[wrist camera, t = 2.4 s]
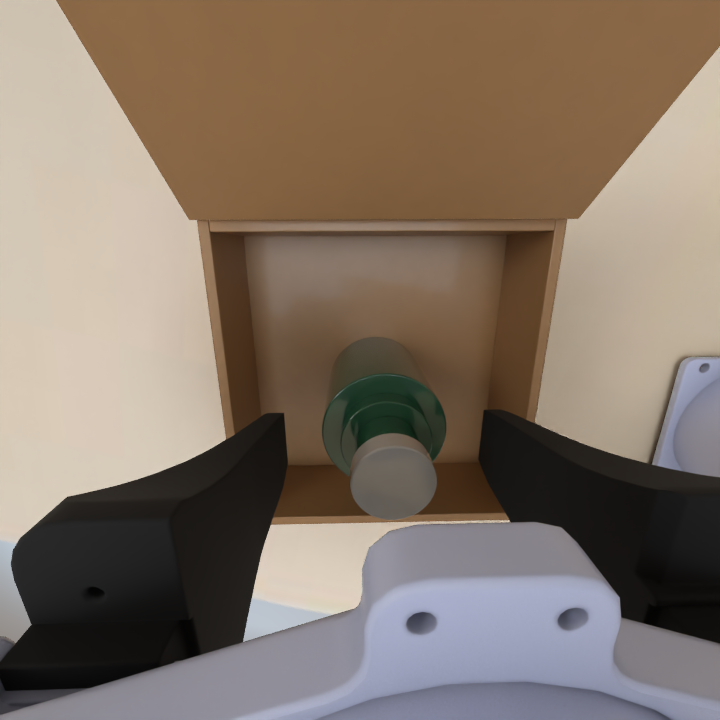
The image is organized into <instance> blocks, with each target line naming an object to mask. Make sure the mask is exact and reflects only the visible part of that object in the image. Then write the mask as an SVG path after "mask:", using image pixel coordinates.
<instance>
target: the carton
mask: <svg viewBox="0 0 720 720" xmlns="http://www.w3.org/2000/svg"><path fill="white" fill-rule="evenodd" d="M566 223H567V219H328V220H197V224H198V231H199V239H200V246H201V254H202V261H203V269H204V276H205V284H206V291H207V299H208V306H209V314H210V321H211V329H212V336H213V344H214V351H215V359H216V366H217V374H218V381H219V389H220V396H221V404H222V411H223V419H224V426H225V434H226V439H228V438H230V437H231V436H233V435H235V434H236V433H238V432H239V431H240V430H242V429H243V428H245V427H246V426H248V425H249V424H251V423H252V422H254V421H255V420H256V419H258V418H259V417H261V416H262V415H264V414H266V413H284V418H285V431H286V444H287V457H288V465H287V471H286V476H285V481H284V486H283V489H282V492H281V496H280V499H279V502H278V505H277V507H276V510H275V513H274V516H273V519H272V522H271V525H274V524H322V523H371V522H419V521H467V520H509V518H508V517H507V515H506V513H505V512H504V510H503V508H502V507H501V505H500V503H499V501H498V500H497V498H496V496H495V495H494V493H493V491H492V489H491V488H490V486H489V484H488V482H487V480H486V477H485V475H484V473H483V470H482V468H481V465H480V462H479V460H478V457H479V448H480V439H481V430H482V421H483V412H484V410H492V409H501V410H504V411H507V412H510V413H512V414H515V415H517V416H519V417H522V418H524V419H526V420H528V421H530V422H533V423H535V417H536V411H537V405H538V399H539V392H540V386H541V380H542V374H543V367H544V361H545V355H546V349H547V342H548V336H549V330H550V324H551V317H552V311H553V305H554V299H555V292H556V286H557V280H558V273H559V267H560V261H561V255H562V248H563V242H564V236H565V230H566ZM368 337H384V338H388V339H392V340H394V341H396V342H398V343H400V344H401V345H403V346H404V347H405V348H407V349H408V350H409V351H410V353H411V354H412V355H413V357H414V358H415V360H416V362H417V363H418V365H419V367H420V369H421V370H422V372H423V374H424V375H425V377H426V379H427V381H428V382H429V384H430V386H431V387H432V389H433V391H434V393H435V394H436V396H437V398H438V400H439V401H440V403H441V405H442V407H443V410H444V413H445V416H446V423H447V431H446V438H445V441H444V445H443V447H442V449H441V451H440V453H439V455H438V457H437V458H436V459H435V461H434V462H433V465H434V468H435V471H436V475H437V486H436V490H435V493H434V496H433V498H432V499H431V501H430V502H429V503H428V505H427V506H426V507H425V508H424V509H422V510H421V511H420V512H418V513H416V514H415V515H412V516H410V517H407V518H404V519H398V520H386V519H380V518H377V517H374V516H372V515H370V514H368V513H366V512H365V511H364V510H362V509H361V508H360V507H359V505H358V504H357V503H356V501H355V500H354V498H353V496H352V493H351V489H350V477H349V476H348V475H346V474H345V473H343V472H342V471H341V470H340V469H339V468H338V467H337V466H336V465H335V464H334V463H333V462H332V460H331V459H330V457H329V456H328V454H327V452H326V449H325V447H324V443H323V439H322V422H323V417H324V411H325V405H326V399H327V393H328V387H329V381H330V375H331V370H332V367H333V364H334V362H335V360H336V358H337V357H338V355H339V354H340V353H341V352H342V351H343V350H344V349H345V348H346V347H347V346H349V345H350V344H352V343H353V342H355V341H357V340H360V339H363V338H368Z"/></svg>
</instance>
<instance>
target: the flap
mask: <svg viewBox="0 0 720 720" xmlns="http://www.w3.org/2000/svg"><path fill="white" fill-rule="evenodd" d="M56 1H57V2H58V4H59V6H60V7H61V9H62V11H63V12H64V14H65V16H66V17H67V19H68V21H69V22H70V24H71V25H72V27H73V29H74V30H75V32H76V34H77V35H78V37H79V39H80V40H81V42H82V44H83V45H84V47H85V49H86V50H87V52H88V54H89V55H90V57H91V58H92V60H93V62H94V63H95V65H96V67H97V68H98V70H99V72H100V73H101V75H102V77H103V78H104V80H105V82H106V83H107V85H108V87H109V88H110V90H111V91H112V93H113V95H114V96H115V98H116V100H117V101H118V103H119V105H120V106H121V108H122V110H123V111H124V113H125V115H126V116H127V118H128V120H129V121H130V123H131V124H132V126H133V128H134V129H135V131H136V133H137V134H138V136H139V138H140V139H141V141H142V143H143V144H144V146H145V148H146V149H147V151H148V153H149V154H150V156H151V157H152V159H153V161H154V162H155V164H156V166H157V167H158V169H159V171H160V172H161V174H162V176H163V177H164V179H165V181H166V182H167V184H168V186H169V187H170V189H171V190H172V192H173V194H174V195H175V197H176V199H177V200H178V202H179V204H180V205H181V207H182V209H183V210H184V212H185V214H186V215H187V217H188V219H189V220H307V219H578V218H579V217H580V216H581V215H582V214H583V212H584V211H585V210H586V209H587V208H588V206H589V205H590V204H591V203H592V201H593V200H594V199H595V198H596V197H597V195H598V194H599V193H600V192H601V190H602V189H603V188H604V187H605V186H606V184H607V183H608V182H609V181H610V179H611V178H612V177H613V176H614V175H615V173H616V172H617V171H618V170H619V168H620V167H621V166H622V165H623V164H624V162H625V161H626V160H627V159H628V157H629V156H630V155H631V154H632V153H633V151H634V150H635V149H636V148H637V146H638V145H639V144H640V143H641V142H642V140H643V139H644V138H645V137H646V135H647V134H648V133H649V132H650V131H651V129H652V128H653V127H654V126H655V124H656V123H657V122H658V121H659V120H660V118H661V117H662V116H663V115H664V113H665V112H666V111H667V110H668V109H669V107H670V106H671V105H672V104H673V102H674V101H675V100H676V99H677V98H678V96H679V95H680V94H681V93H682V91H683V90H684V89H685V88H686V87H687V85H688V84H689V83H690V82H691V81H692V79H693V78H694V77H695V76H696V74H697V73H698V72H699V71H700V70H701V68H702V67H703V66H704V65H705V63H706V62H707V61H708V60H709V59H710V57H711V56H712V55H713V54H714V52H715V51H716V50H717V49H718V48H719V46H720V0H56Z"/></svg>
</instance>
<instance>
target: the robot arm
mask: <svg viewBox="0 0 720 720" xmlns="http://www.w3.org/2000/svg"><path fill="white" fill-rule="evenodd" d="M701 365H702V367H701V368H700V366H701ZM699 368H700V369H699ZM478 460H479V462H480V465H481V468H482V470H483V473H484V475H485V477H486V480H487V482H488V484H489V486H490V488H491V489H492V491H493V493H494V495H495V496H496V498H497V500H498V501H499V503H500V505H501V507H502V508H503V510H504V512H505V513H506V515H507V517H508V518H509V520H510V523H466V524H423V525H413V526H409V527H405V528H401V529H397V530H392V531H389V532H388V533H387V534H385V535H384V536H383V537H382V538H380V539H379V540H378V541H377V542H376V543H374V544H373V545H372V546H371V547H369V550H368V553H367V556H366V559H365V562H364V565H363V568H362V596H361V602H360V603H359V605H358V606H357V607H356V608H355V609H351V610H348V611H345V612H341V613H338V614H335V615H331V616H328V617H325V618H322V619H318V620H315V621H312V622H308V623H305V624H301V625H298V626H295V627H291V628H288V629H285V630H282V631H279V632H275V633H272V634H268V635H265V636H262V637H258V638H255V639H252V640H248V641H245V642H243V638H244V633H245V628H246V622H247V617H248V613H249V608H250V602H251V598H252V593H253V589H254V584H255V579H256V575H257V570H258V566H259V562H260V557H261V553H262V550H263V546H264V543H265V540H266V537H267V534H268V531H269V528H270V525H271V522H272V519H273V516H274V513H275V510H276V507H277V505H278V502H279V499H280V496H281V492H282V489H283V486H284V481H285V476H286V471H287V465H288V457H287V444H286V431H285V418H284V413H266V414H264V415H262V416H261V417H259V418H258V419H256V420H255V421H254V422H252V423H251V424H249V425H248V426H246V427H245V428H243V429H242V430H240V431H239V432H238V433H236V434H235V435H233V436H231V437H230V438H228V439H226V440H225V441H223V442H222V443H220V444H218V445H217V446H215V447H213V448H212V449H210V450H208V451H206V452H204V453H202V454H200V455H198V456H196V457H194V458H192V459H190V460H188V461H186V462H183V463H181V464H178V465H176V466H173V467H171V468H168V469H166V470H163V471H161V472H158V473H156V474H153V475H150V476H147V477H144V478H141V479H138V480H134V481H131V482H128V483H124V484H121V485H117V486H113V487H110V488H105V489H101V490H97V491H92V492H88V493H84V494H79V495H75V496H70V497H67V498H65V499H64V500H63V501H62V502H61V503H60V504H59V505H57V506H56V507H55V508H54V509H53V510H52V511H51V512H49V513H48V514H47V515H46V516H45V517H44V518H43V519H42V520H40V521H39V522H38V523H37V524H36V525H35V526H34V527H32V528H31V529H30V530H29V531H28V532H27V533H26V534H25V535H23V536H22V537H21V538H20V539H19V541H18V543H17V544H16V546H15V548H14V549H13V554H12V561H11V567H12V571H13V576H14V581H15V583H16V586H17V588H18V591H19V594H20V596H21V598H22V601H23V604H24V606H25V609H26V611H27V614H28V616H29V619H30V622H31V624H32V625H31V626H30V627H29V628H28V630H27V631H26V632H25V633H24V634H23V636H22V637H21V638H20V639H19V640H18V642H17V643H15V642H14V641H12V640H11V639H9V638H7V637H2V636H0V720H720V357H689V358H686V359H684V360H683V361H682V362H681V364H680V366H679V370H678V373H677V377H676V380H675V384H674V388H673V391H672V395H671V398H670V402H669V405H668V409H667V412H666V416H665V420H664V423H663V427H662V430H661V434H660V437H659V441H658V444H657V448H656V451H655V455H654V459H653V462H652V465H651V464H647V463H644V462H640V461H636V460H632V459H628V458H624V457H621V456H618V455H614V454H611V453H608V452H605V451H602V450H599V449H596V448H593V447H590V446H587V445H584V444H582V443H579V442H577V441H574V440H572V439H569V438H567V437H564V436H562V435H559V434H557V433H555V432H553V431H550V430H548V429H546V428H544V427H541V426H539V425H537V424H535V423H533V422H530V421H528V420H526V419H524V418H522V417H519V416H517V415H515V414H512V413H510V412H507V411H504V410H501V409H492V410H484V412H483V421H482V430H481V439H480V448H479V457H478Z"/></svg>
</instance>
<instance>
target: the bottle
mask: <svg viewBox="0 0 720 720" xmlns="http://www.w3.org/2000/svg"><path fill="white" fill-rule="evenodd" d="M446 431H447V423H446V416H445V413H444V410H443V407H442V405H441V403H440V401H439V400H438V398H437V396H436V394H435V393H434V391H433V389H432V387H431V386H430V384H429V382H428V381H427V379H426V377H425V375H424V374H423V372H422V370H421V369H420V367H419V365H418V363H417V362H416V360H415V358H414V357H413V355H412V354H411V353H410V351H409V350H408V349H407V348H405V347H404V346H403V345H401V344H400V343H398V342H396V341H394V340H392V339H388V338H384V337H368V338H363V339H360V340H357V341H355V342H353V343H352V344H350V345H349V346H347V347H346V348H345V349H344V350H343V351H342V352H341V353H340V354H339V355H338V357H337V358H336V360H335V362H334V364H333V367H332V370H331V375H330V381H329V387H328V393H327V399H326V405H325V411H324V417H323V422H322V439H323V443H324V447H325V449H326V452H327V454H328V456H329V457H330V459H331V460H332V462H333V463H334V464H335V465H336V466H337V467H338V468H339V469H340V470H341V471H342V472H343V473H345V474H346V475H348V476H349V477H350V489H351V493H352V496H353V498H354V500H355V501H356V503H357V504H358V505H359V507H360V508H361V509H362V510H364V511H365V512H366V513H368V514H370V515H372V516H374V517H377V518H380V519H386V520H398V519H404V518H407V517H410V516H412V515H415V514H416V513H418V512H420V511H421V510H422V509H424V508H425V507H426V506H427V505H428V503H429V502H430V501H431V499H432V498H433V496H434V493H435V490H436V486H437V475H436V471H435V468H434V465H433V462H434V461H435V459H436V458H437V457H438V455H439V453H440V451H441V449H442V447H443V445H444V441H445V438H446Z"/></svg>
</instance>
